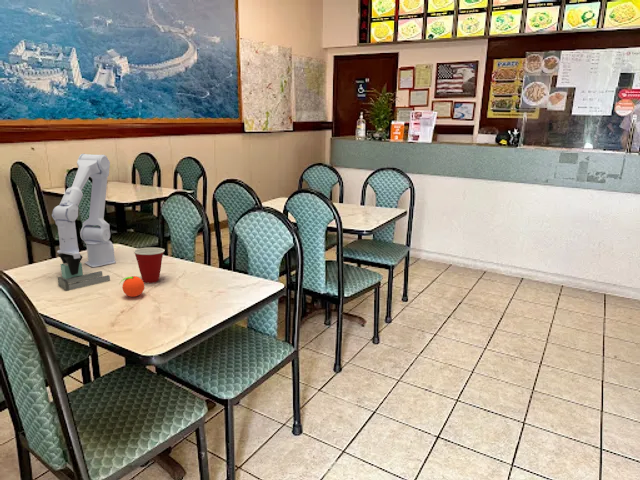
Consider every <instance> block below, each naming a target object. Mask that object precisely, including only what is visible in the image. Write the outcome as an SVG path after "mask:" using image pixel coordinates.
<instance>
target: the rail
mask: <svg viewBox="0 0 640 480" xmlns="http://www.w3.org/2000/svg"><path fill="white" fill-rule="evenodd" d="M110 276H111V275H103V271H101V270H100V271H95V272H90V273H84V274H83V275H80V276H76V277H71V278H67V279H65V278H63V277H62V276H57V285H58V286H59V287H60V288H62V289H63V290H65V291H66V292H67V291H68V292H69V291H71V290H76V289H80V288H84V287H88V286H92V285H97V284H100V283H101V284H102V283H104V282H109V281H111V278H110Z"/></svg>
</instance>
